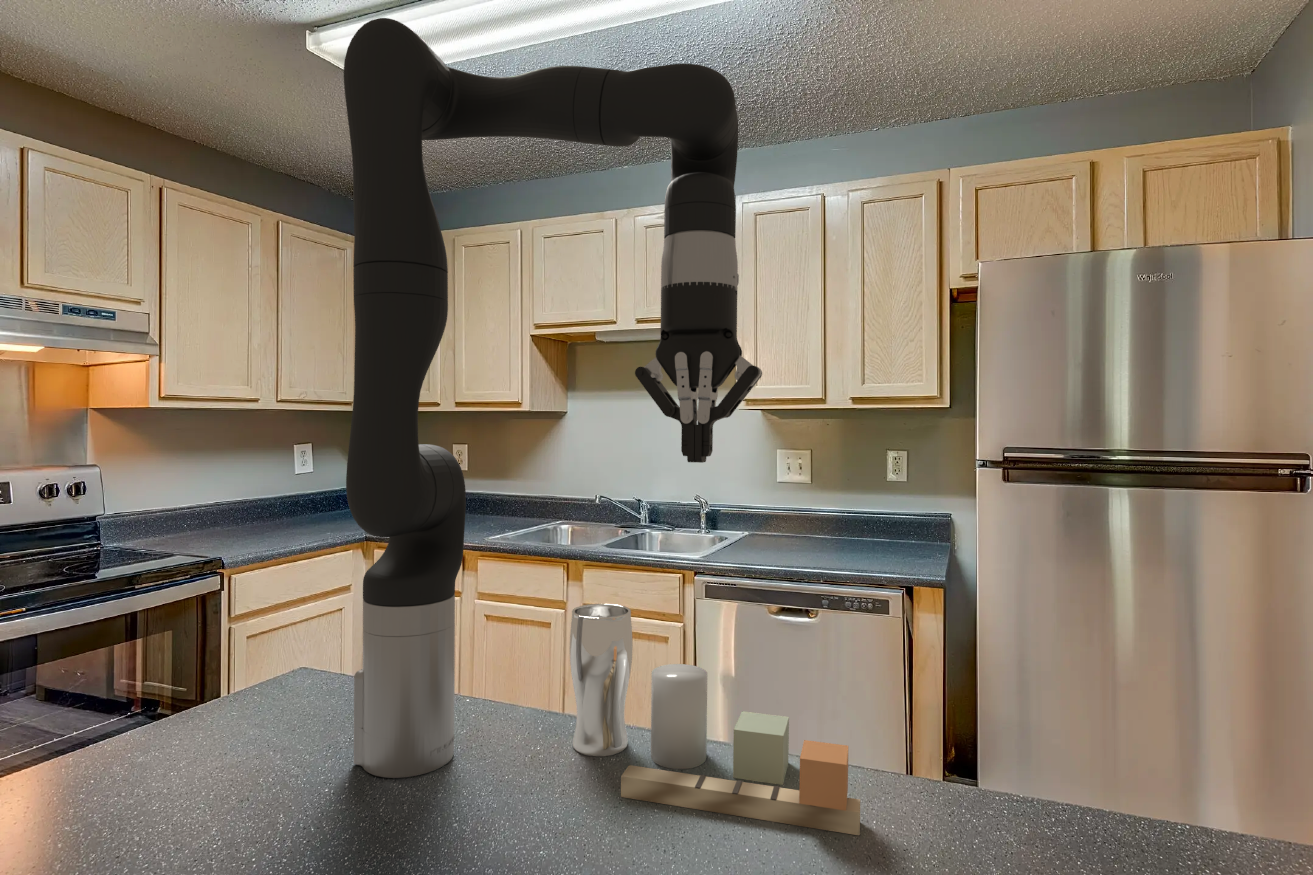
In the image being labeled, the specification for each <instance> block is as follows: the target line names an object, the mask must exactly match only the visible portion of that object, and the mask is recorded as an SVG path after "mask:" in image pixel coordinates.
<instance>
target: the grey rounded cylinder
mask: <svg viewBox="0 0 1313 875" xmlns="http://www.w3.org/2000/svg"><path fill="white" fill-rule="evenodd" d="M650 686H651V689H650V690H651V692H650V693H651V696H650V700H651V701H650V702H651V704H650V705H651V707H650V709H651V710H650V712H651V713H650V759H651V760H652V762H653V763H655V764H657V765H658V766H660V767H662V768H667V769H674V770H688V769H693V768H696V767H700V766H702V764H704V763H705V762H706V760H707V751H708V750H707V746H708V745H707V743H708V742H707V740H708V739H707V738H708V735H707V734H708V731H707V730H708V672H707V671H706V669H704V668H702V667H700V666H696V665H693V664H686V663H685V664H683V663H672V664H671V663H670V664H664V665H663V664H662V665H659V666H656V667H655V668H653V669H652V671H651V683H650Z"/></svg>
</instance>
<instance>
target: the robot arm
mask: <svg viewBox="0 0 1313 875" xmlns="http://www.w3.org/2000/svg"><path fill="white" fill-rule="evenodd" d="M343 86H344V87H343V88H344V97H345V105H346V106H345V107H346V115H347V123H348V132H349V138H350V150H351V159H352V180H353V181H352V183H353V185H352V191H353V192H352V193H353V195H352V199H353V201H352V202H353V228H354V229H353V232H354V234H353V235H354V238H353V239H354V241H353V242H354V243H353V244H354V246H353V308H354V310H353V311H354V362H353V363H354V367H353V368H354V372H353V374H354V377H353V378H354V379H353V380H354V382H353V402H352V413H351V422H350V434H349V442H348V444H349V445H348V452H347V453H348V454H347V463H346V474H345V475H346V476H345V478H346V479H345V483H346V484H345V487H346V488H345V489H346V490H345V491H346V499H347V503H348V508H349V511H350V513H351V516H352V518H353V520H354V521H355V522H356V524H357V525H358V527H359V528H361V529H362V530H363V531H364V532H365V533H366V534H369V535H370V536H373V537H376V538H388V543H387V546H386V548H385V550H384V551H383V553H382V555H381V556H380V557H379V559H378V560H376V562H374V563H373V565H371V566H370V567H369V568H368V569H367V570H366V572H365V573H364V576H363V578H362V580H363V581H362V668H361V669H359V670H357V671H356V672H355V673H354V676H353V764H354V765H357V766H361V767H362V768H363V770H364V771H365V772H366V773H369V774H371V775H373V776H375V777H381V778H390V779H391V778H393V779H396V778H409V777H415V776H421V775H425V774H428V773H431V772H433V771H435V770H438V769H440V768H441V767H444V766H445V765H447V764H448V763H449V762H450V761H451V760H452V759H453V756H454V754H455V751H454V750H455V673H456V672H455V666H456V664H455V662H456V661H455V660H456V659H455V658H456V656H455V655H456V654H455V653H456V652H455V650H456V649H455V648H456V645H455V642H456V637H455V636H456V620H455V619H456V610H455V609H456V595H455V594H456V581H457V580H456V579H457V576H458V574H459V572H460V569H461V566H462V565H463V564H462V563H463V558H464V546H465V530H466V529H465V526H466V504H467V499H466V498H467V495H466V494H467V493H466V490H467V489H466V483H465V482H466V481H465V476H464V474H463V470H462V468H461V465H460V463H459V461H458V459H457V458H456V457H455V456H454V455H453V454H452V452H450V451H449V450H447V449H446V448H444V447H442V446H439V445H435V444H429V443H428V444H426V443H425V444H421V443H419V442H420V441H419V406H420V399H421V398H420V396H421V390H422V388H423V384H424V381H425V378H426V375H427V373H428V370H429V368H430V366H431V364H432V362H433V359H434V358H435V355H436V353H437V350H438V348H439V345H440V343H441V341H442V339H443V335H444V332H445V330H446V325H447V321H448V313H449V290H448V289H449V276H448V275H449V274H448V273H449V271H448V267H449V265H448V257H447V251H446V246H445V242H444V241H445V240H444V237H443V232H442V230H441V226H440V223H439V218H438V216H437V215H438V214H437V212H436V208H435V206H434V202H433V199H432V195H431V193H430V190H429V185H428V182H427V179H426V173H425V172H426V171H425V166H424V157H423V141H440V140H453V139H464V138H493V137H495V138H499V137H500V138H501V137H502V138H503V137H504V138H507V137H508V138H509V137H510V138H535V139H537V138H538V139H546V140H558V141H564V142H565V141H566V142H574V143H582V144H587V145H588V144H589V145H598V146H608V147H630V146H632V145H634V144H635V143H636V142H637V141H638V140H639V139H640V137H641V138H642V137H643V138H647V137H648V138H649V137H650V138H657V137H658V138H667V139H669V141H670V142H669V143H670V153H671V154H670V160H671V161H670V182H669V184H668V186H667V187H666V192H665V198H664V210H663V211H664V212H663V213H664V214H663V215H664V216H663V218H664V219H663V221H664V226H663V229H664V230H663V234H664V235H663V238H664V240H663V248H662V256H661V265H660V267H661V268H660V340H659V343H658V345H657V347H656V349H655V357H653V358H652V360H650V361H649V362H648V363H647V364H646V365H645V366H638V367H636V369H635V371H634V375H635V378H636V379H637V380H638V381H639V382H640V384H641V386H642V387H644V389H645V391H646V392H647V394H649V396H650V397H651V399H652V400H653V401H654V403H655V404H656V405H657V407H658V408H659V410H660V411H661V413H662V414H663V415H664V416H665V417H669V418H671V419H673V420H676V421H678V422H679V423H680V425H681V437H680V439H681V444H680V445H681V454H682V456H683V457H686V459H687V460H686V461H687V463H706V462H707V457H711V456H712V453H713V443H714V441H713V440H714V439H713V437H714V434H713V433H714V429H713V428H714V425H715V423H716V422H717V421H720V420H722V419H725V418H726V419H727V418H730V417H731V416H732V414H733V413H734V412H735V411H736V410H737V409H738V407H739V406H740V404H741V403H742V402H743V401H744V400H745V399H746V397H747V395H748V394H749V393H750V392H751V390H753V388H754V386H756V384H757V383H758V382H759V380H760V379H761V378H762V375H763V371H762V369H761V368H760V367H758V366H756V365H754V364H752V363H751V362H749V361H748V360H747V359H746V358H744V356H743V351H742V347H741V345H740V344H739V341H738V285H739V284H740V283H739V281H740V280H739V278H740V277H739V276H740V275H739V273H738V272H739V271H738V270H739V269H738V268H739V267H738V266H739V265H738V264H739V262H738V255H737V254H738V253H737V245H736V244H737V243H736V230H737V229H736V220H737V219H736V217H737V216H736V214H737V212H736V211H737V210H736V209H737V208H736V204H737V203H736V194H735V192H736V191H735V182H736V174H737V172H736V171H737V164H738V163H737V162H738V149H739V148H738V147H739V119H738V118H739V117H738V110H737V105H736V104H737V103H736V97H735V93H734V92H735V91H734V89H733V87H732V85H731V83H730V82H729V80H728V79H727V78H726V77H725V76H724V75H723V74H722V73H720V72H719V71H717V70H716V69H714V68H711V67H708V66H705V65H701V64H695V63H671V64H664V65H656V66H649V67H643V68H638V69H633V70H621V69H612V68H604V67H603V68H600V67H593V66H592V67H591V66H583V65H554V66H548V67H542V68H539V69H535V70H530V71H527V72H524V73H521V74H516V75H510V76H488V75H487V76H485V75H480V74H474V73H470V72H466V71H463V70H460V69H457V68H453V67H450V66H448V65H447V64H446V63H445V62H444V61H443V60H442V59H441V57H439V56H438V54H436V52H435V51H434V50H433V49H432V48H431V46H429V45H428V43H427V42H426V41H425V40H424V39H423V38H422V37H421V36H420V35H419V34H418V33H417V32H415V31H414V30H413V29H411V28H410V27H408V26H407V25H406V24H404V23H402V22H400V21H399V20H395V19H392V18H388V17H379V18H375V19H372V20H369V21H367V22H365V23H364V24H363V25H362V26H361V27H360V28H359V29H357V31H356V32H355V33H354V35H353V37H352V38H351V40H350V42H349V44H348V47H347V49H346V53H345V57H344V64H343ZM734 368H736V370H735V371H734ZM662 369H663V371H664V372H665V374H666V375H667V376H668V378H669V379H670V381H671V382H672V383H673V385H674V386H676V388H677V399H678V402H679V403H678V404H679V405H678V404H677V402H676V401H675V399H674V398H673V396H672V395H671V394H670V393H669V391H668V389H667V388H666V386H664V384H663V383H662V381H663V379H664V374H663V372H662ZM732 371H734V378H735V380H736V382H734V384H733V385H732V387H731V388H730V389H729V391H727V393H726V394H725V396H724V397H723V398H722V399H721V401H720V403H718V405H716V404H717V403H716V402H717V400H718V394H719V388H720V387H721V386H722V385H723V384H724V383H725V381H726V380H727V379H728V378H729V376H730V375H731V373H732Z"/></svg>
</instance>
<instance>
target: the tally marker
mask: <svg viewBox="0 0 1313 875" xmlns="http://www.w3.org/2000/svg"><path fill="white" fill-rule="evenodd" d="M798 790H799V804H806V805H812V806H819V807H825V808H832V809H838V810H845V811H846V806H847V798H848V792H849V791H848V790H849V745H845V744H838V743H831V742H822V741H814V740H806V739H803V744H802V749H801V752H800V756H799V789H798Z"/></svg>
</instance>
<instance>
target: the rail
mask: <svg viewBox="0 0 1313 875" xmlns="http://www.w3.org/2000/svg"><path fill="white" fill-rule="evenodd" d="M620 797H621V798H626V799H633V800H637V801H644V802H650V803H657V804H663V805H667V806H668V805H669V806H675V807H681V808H688V809H694V810H700V811H705V812H711V813H712V812H713V813H718V814H724V815H731V816H737V817H743V818H750V819H755V820H760V821H761V820H762V821H768V822H774V823H778V824H779V823H781V824H787V825H791V826H792V825H793V826H799V827H804V828H810V829H817V830H823V831H830V832H836V833H843V834H849V835H853V836H854V835H855V836H860V834H861V833H860V831H861V829H860V828H861V798H852V797H847V806H846V811H845V810H838V809H832V808H825V807H819V806H812V805H806V804H799V789H792V788H785V787H781V785H774V786H772V785H765V784H759V783H753V782H752V783H751V782H747V781H746V782H744V781H743V780H741V779H739V780H738V779H736V780H733V779H732V780H731V779H725V778H720V777H711V776H707V775H705V774H700V775H699V774H692V773H685V772H677V771H673V770H672V771H670V770H664V769H658V768H651V767H644V766H639V765H638V766H637V765H633V764H629V765H628V766H627V768H626V769H625V770H624V771H623V773H622V774H621V776H620Z"/></svg>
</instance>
